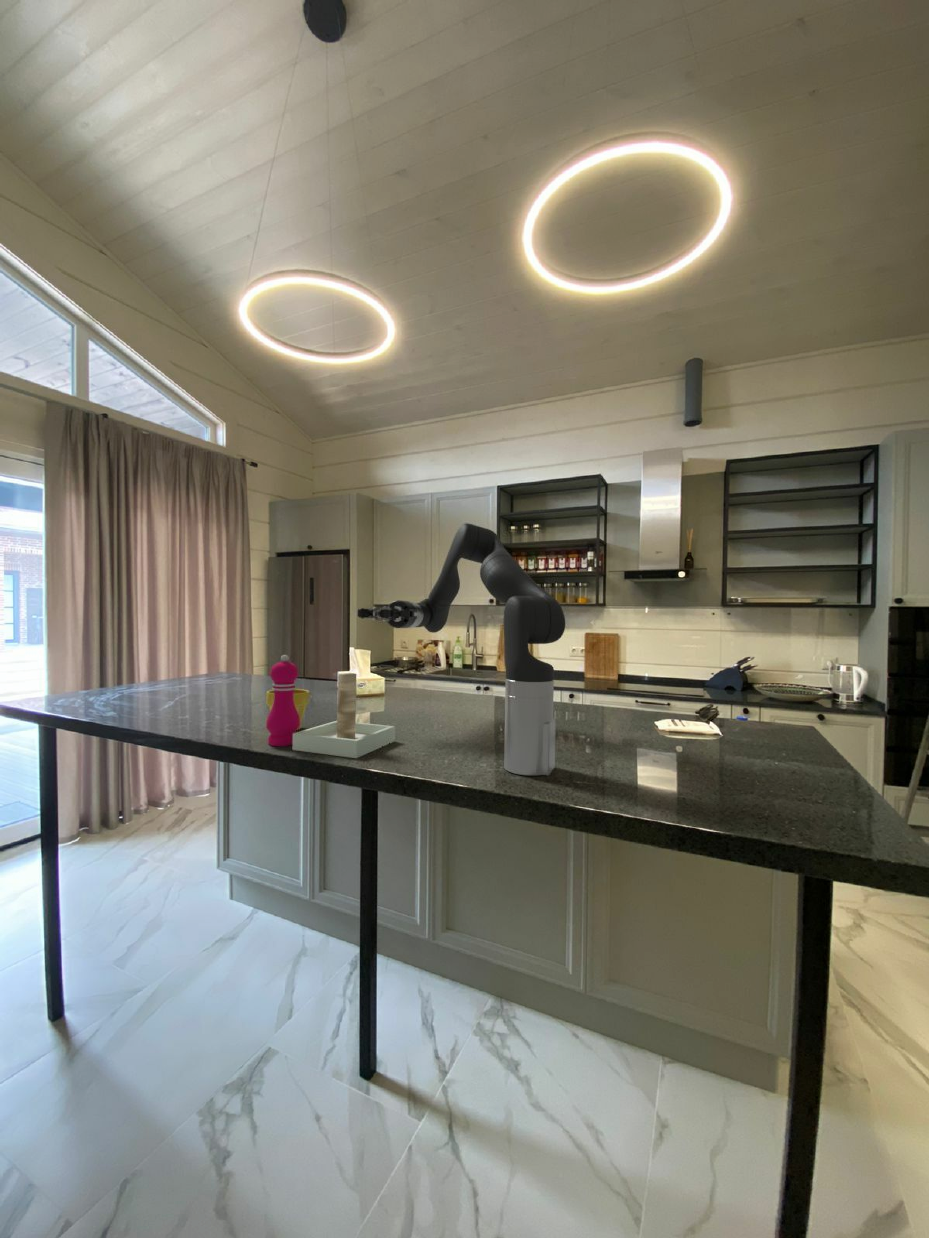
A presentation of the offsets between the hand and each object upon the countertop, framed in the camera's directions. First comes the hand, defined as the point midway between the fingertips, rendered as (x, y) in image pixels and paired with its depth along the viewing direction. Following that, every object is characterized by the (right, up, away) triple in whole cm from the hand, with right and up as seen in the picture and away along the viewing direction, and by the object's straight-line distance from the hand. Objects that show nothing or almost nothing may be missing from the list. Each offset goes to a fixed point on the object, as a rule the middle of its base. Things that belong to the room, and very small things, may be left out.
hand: (374, 613), depth 122 cm
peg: (-4, -30, -11) cm, 32 cm away
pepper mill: (-19, -30, -9) cm, 37 cm away
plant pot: (-23, -30, +5) cm, 38 cm away
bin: (-4, -30, -11) cm, 32 cm away
